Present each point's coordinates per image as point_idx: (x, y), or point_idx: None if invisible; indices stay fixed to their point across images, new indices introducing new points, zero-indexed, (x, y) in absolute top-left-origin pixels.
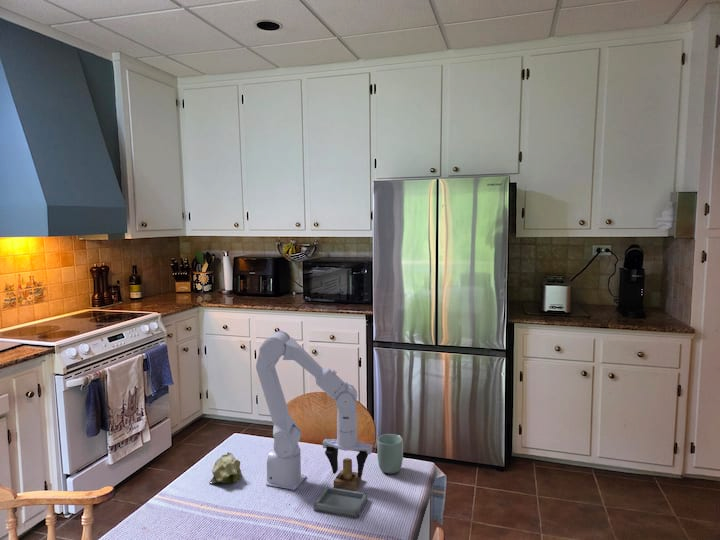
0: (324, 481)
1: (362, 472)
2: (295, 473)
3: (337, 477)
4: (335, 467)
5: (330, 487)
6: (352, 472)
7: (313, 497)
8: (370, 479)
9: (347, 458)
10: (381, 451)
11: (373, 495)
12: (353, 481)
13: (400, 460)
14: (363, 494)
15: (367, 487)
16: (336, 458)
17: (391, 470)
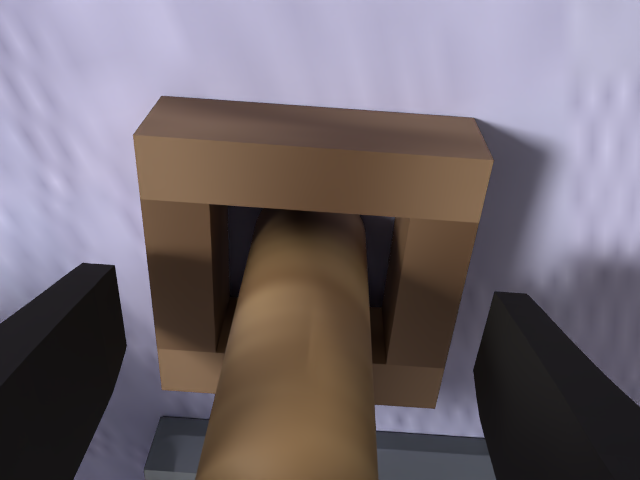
0: (18, 245)
1: (541, 311)
2: None
3: (176, 326)
4: (92, 391)
5: (187, 473)
6: (341, 165)
7: (85, 476)
8: (608, 79)
9: (258, 459)
10: None
11: (634, 382)
12: (410, 368)
13: None
14: None
15: (566, 267)
16: (14, 440)
17: None
